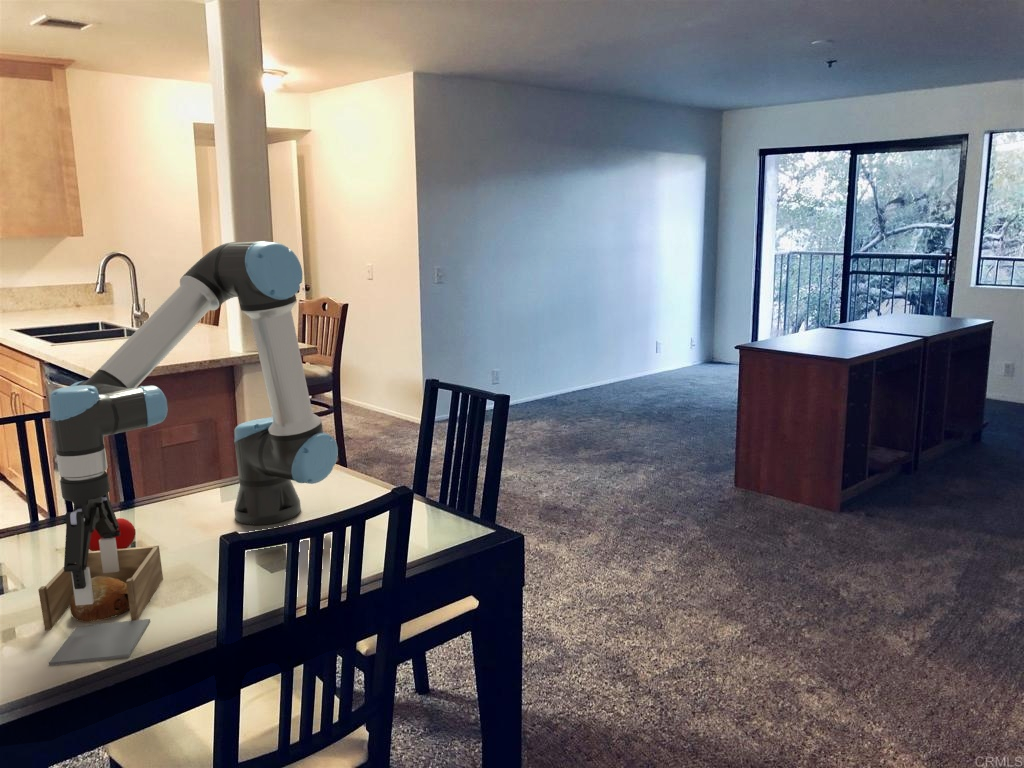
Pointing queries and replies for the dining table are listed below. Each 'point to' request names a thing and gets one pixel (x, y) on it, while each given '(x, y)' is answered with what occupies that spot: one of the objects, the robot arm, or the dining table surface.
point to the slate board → (100, 642)
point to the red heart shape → (121, 541)
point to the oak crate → (134, 569)
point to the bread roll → (102, 600)
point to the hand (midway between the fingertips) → (98, 587)
